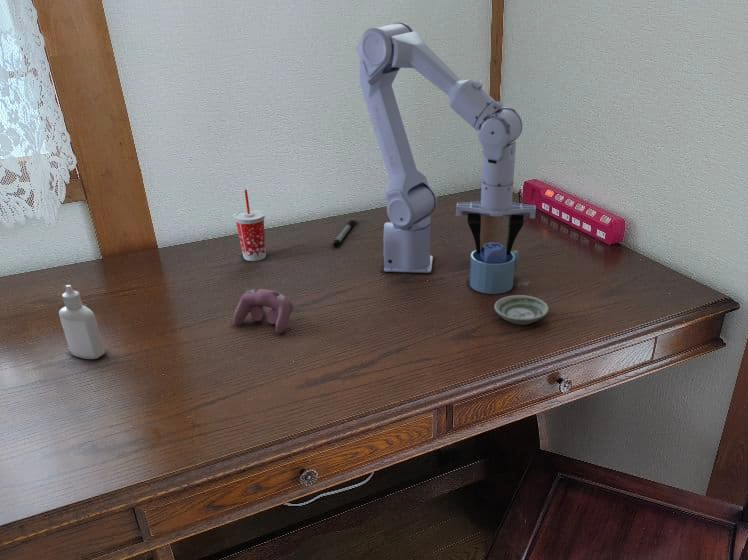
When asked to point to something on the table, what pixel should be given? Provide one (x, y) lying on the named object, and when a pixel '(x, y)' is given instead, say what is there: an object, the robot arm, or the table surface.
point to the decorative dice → (493, 253)
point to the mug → (492, 274)
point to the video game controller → (255, 303)
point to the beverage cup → (251, 232)
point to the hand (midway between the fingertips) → (493, 252)
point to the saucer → (521, 309)
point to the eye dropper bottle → (80, 327)
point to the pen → (344, 232)
